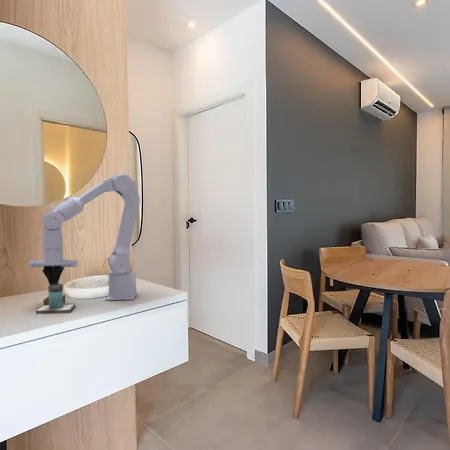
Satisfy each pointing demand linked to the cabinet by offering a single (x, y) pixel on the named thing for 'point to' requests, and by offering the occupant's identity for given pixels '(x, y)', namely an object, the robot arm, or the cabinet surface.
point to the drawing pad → (46, 309)
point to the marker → (55, 296)
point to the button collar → (46, 301)
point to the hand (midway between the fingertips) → (54, 288)
